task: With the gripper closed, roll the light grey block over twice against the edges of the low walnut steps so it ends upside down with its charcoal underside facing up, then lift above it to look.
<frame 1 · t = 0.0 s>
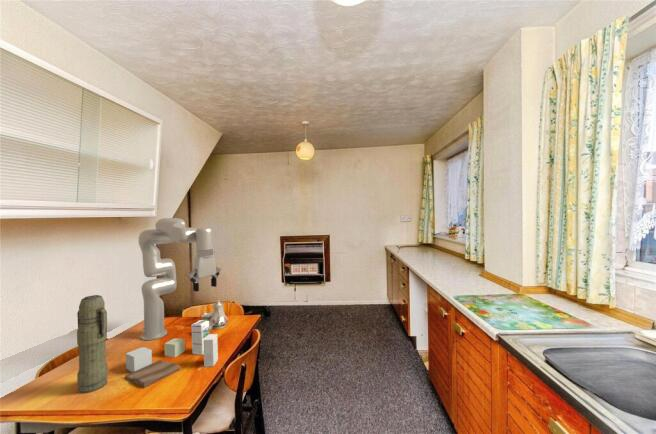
hand: (205, 288, 132), 31 cm above the table, tool pointing down, fingers open, 9 cm apart
walnut steps: (153, 373, 115), on the table
light grey block: (139, 367, 120), on the table
syrup box: (201, 352, 133), on the table
thermos: (92, 386, 107), on the table
chinaware: (213, 327, 165), on the table
skincare box: (211, 363, 122), on the table
sage block: (174, 353, 132), on the table
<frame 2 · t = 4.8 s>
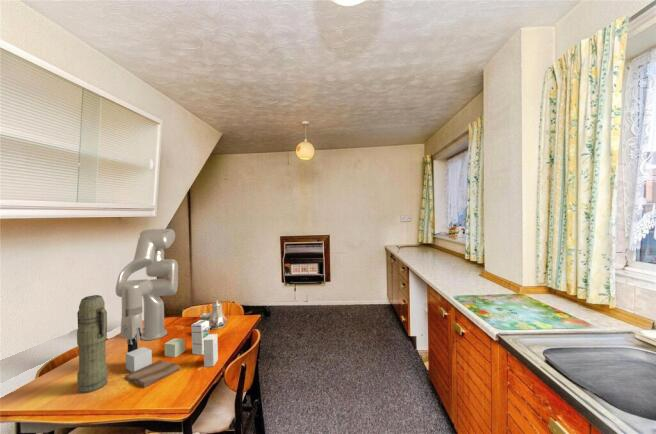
hand: (132, 352, 123), 6 cm above the table, tool pointing down, fingers closed
light grey block: (139, 367, 120), on the table, touching gripper
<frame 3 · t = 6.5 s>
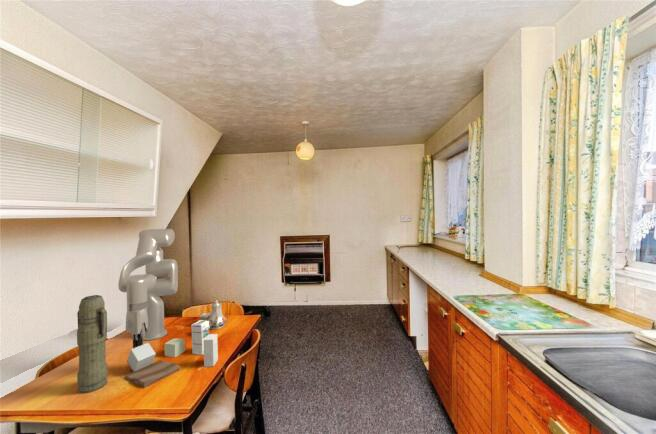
hand: (137, 347, 121), 9 cm above the table, tool pointing down, fingers closed
light grey block: (139, 363, 120), point 2 cm above the table, tilted 32°, touching gripper, walnut steps
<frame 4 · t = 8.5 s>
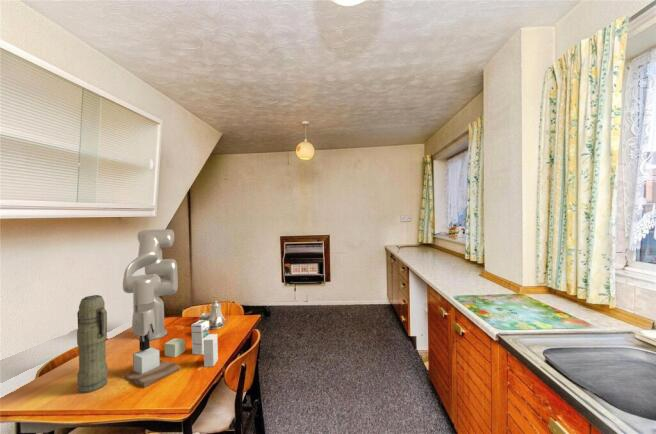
hand: (144, 349, 118), 9 cm above the table, tool pointing down, fingers closed
light grey block: (142, 358, 119), point 4 cm above the table, tilted 90°, touching walnut steps
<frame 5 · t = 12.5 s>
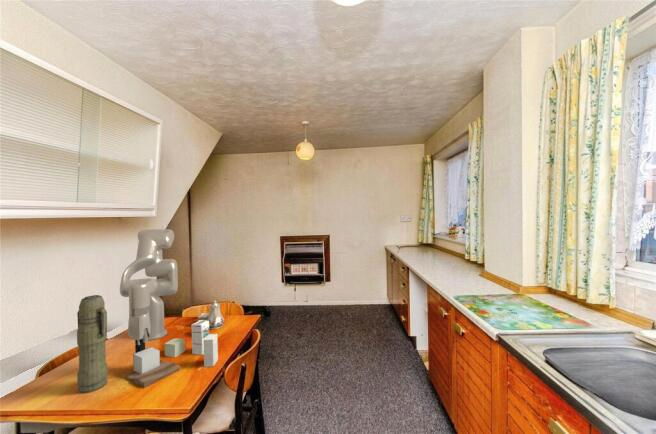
hand: (140, 352, 120), 7 cm above the table, tool pointing down, fingers closed
light grey block: (142, 358, 119), point 5 cm above the table, tilted 91°, touching gripper, walnut steps
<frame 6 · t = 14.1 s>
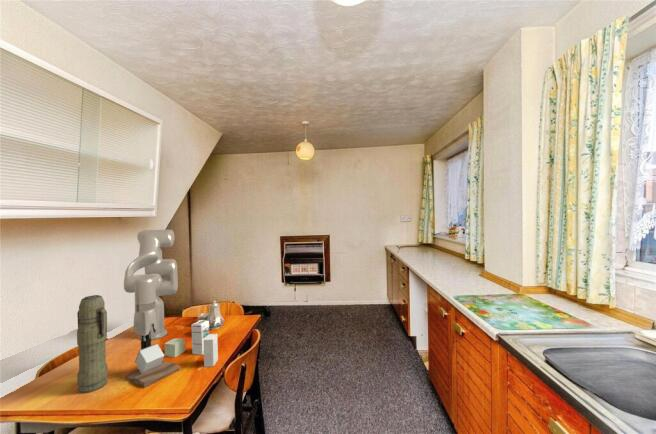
hand: (146, 349, 117), 9 cm above the table, tool pointing down, fingers closed
light grey block: (146, 352, 117), point 8 cm above the table, tilted 124°, touching gripper, walnut steps
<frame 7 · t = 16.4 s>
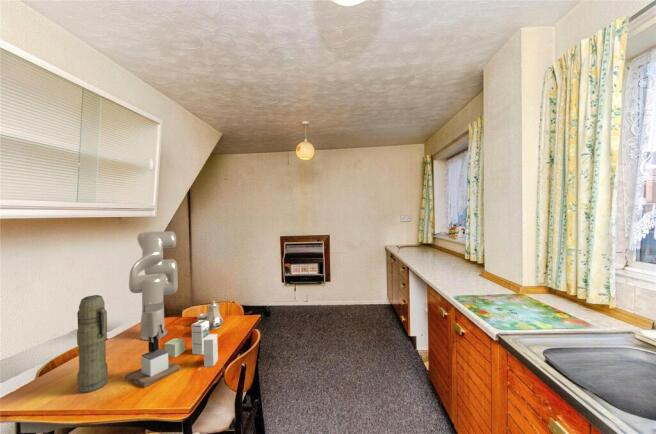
hand: (153, 350, 114), 10 cm above the table, tool pointing down, fingers closed
light grey block: (154, 353, 114), point 9 cm above the table, tilted 180°, touching walnut steps
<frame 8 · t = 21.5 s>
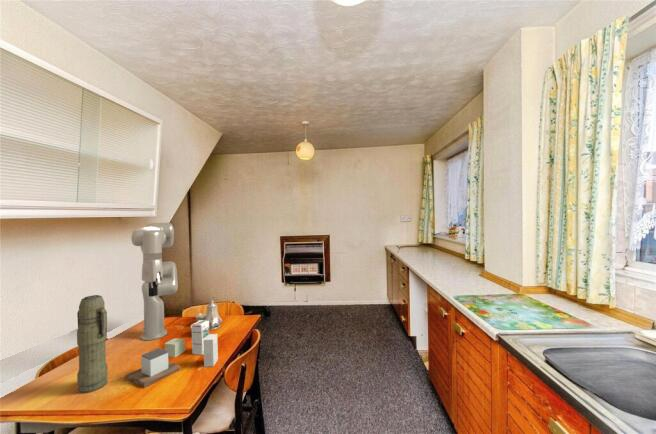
hand: (153, 295, 129), 29 cm above the table, tool pointing down, fingers closed
at the end: light grey block tilted 180°; light grey block inside the target area (0.5 cm from its centre), point 9.0 cm above the table; sage block moved 0.1 cm from its start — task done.
